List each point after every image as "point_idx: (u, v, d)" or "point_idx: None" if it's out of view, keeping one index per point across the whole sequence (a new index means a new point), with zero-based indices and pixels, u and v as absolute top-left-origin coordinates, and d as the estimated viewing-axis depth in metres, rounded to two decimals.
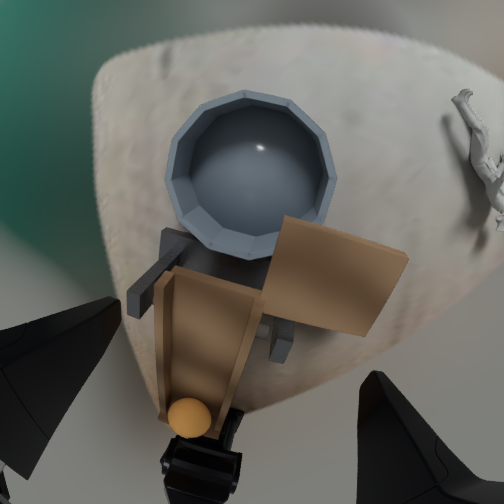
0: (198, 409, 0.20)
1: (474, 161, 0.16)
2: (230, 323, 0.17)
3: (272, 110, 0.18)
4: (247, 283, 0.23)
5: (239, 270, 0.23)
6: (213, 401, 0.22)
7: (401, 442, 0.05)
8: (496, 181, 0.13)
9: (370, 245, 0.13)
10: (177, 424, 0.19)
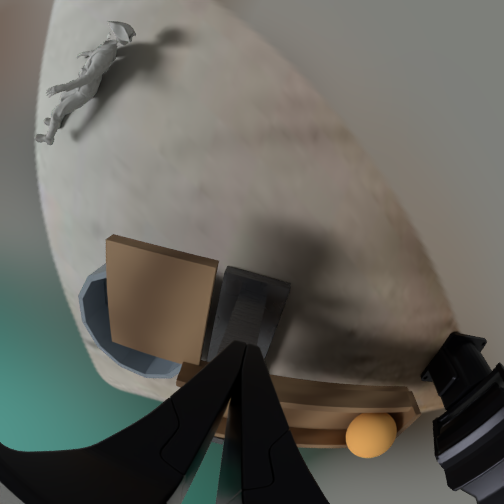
0: (354, 427, 0.15)
1: (86, 99, 0.16)
2: None
3: (104, 291, 0.24)
4: None
5: None
6: None
7: (237, 425, 0.05)
8: (69, 90, 0.13)
9: (107, 279, 0.14)
10: (358, 454, 0.14)
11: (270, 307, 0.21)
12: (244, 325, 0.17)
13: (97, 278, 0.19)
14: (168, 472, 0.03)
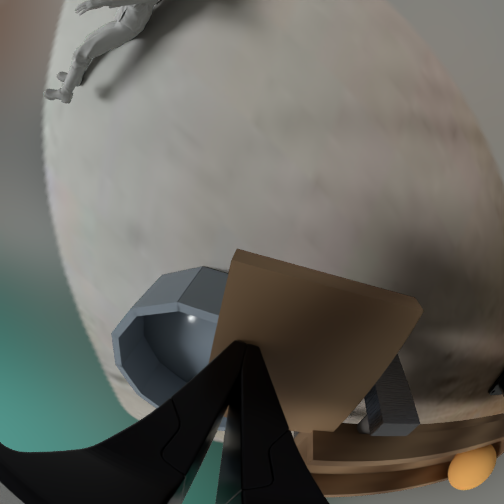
0: (463, 462, 0.09)
1: (129, 34, 0.10)
2: None
3: (144, 320, 0.18)
4: None
5: None
6: None
7: (237, 425, 0.05)
8: (114, 5, 0.07)
9: (216, 328, 0.08)
10: (461, 488, 0.08)
11: None
12: (389, 372, 0.11)
13: (148, 312, 0.13)
14: (168, 472, 0.03)
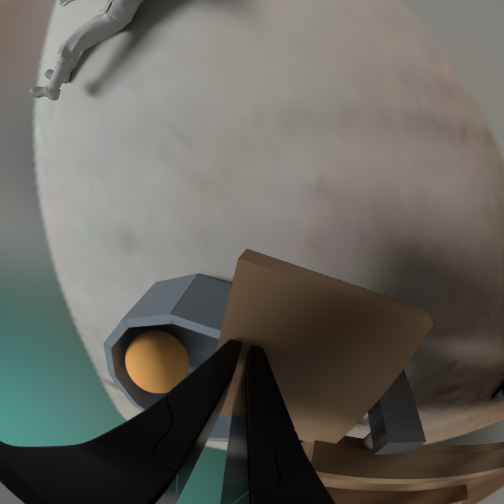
0: (128, 362, 0.13)
1: (116, 25, 0.09)
2: None
3: (138, 328, 0.17)
4: None
5: None
6: None
7: (243, 426, 0.05)
8: None
9: (223, 326, 0.08)
10: (156, 392, 0.14)
11: None
12: (394, 387, 0.10)
13: (140, 324, 0.12)
14: (161, 469, 0.03)
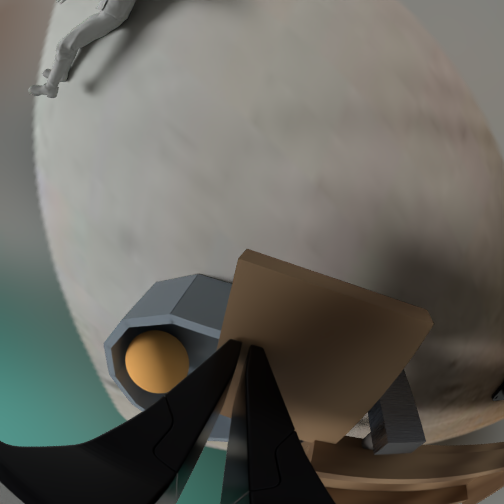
0: (126, 356, 0.14)
1: (113, 22, 0.09)
2: None
3: (138, 328, 0.17)
4: None
5: None
6: None
7: (243, 426, 0.05)
8: None
9: (223, 326, 0.08)
10: (149, 390, 0.14)
11: None
12: (394, 387, 0.10)
13: (140, 324, 0.12)
14: (161, 469, 0.03)
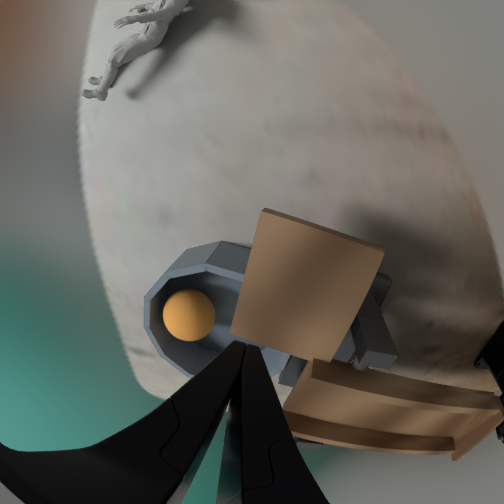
0: (166, 311, 0.19)
1: (152, 44, 0.14)
2: None
3: (168, 290, 0.22)
4: None
5: None
6: None
7: (237, 425, 0.05)
8: (145, 21, 0.10)
9: (249, 258, 0.13)
10: (186, 338, 0.19)
11: None
12: (371, 319, 0.15)
13: (180, 274, 0.17)
14: (168, 472, 0.03)
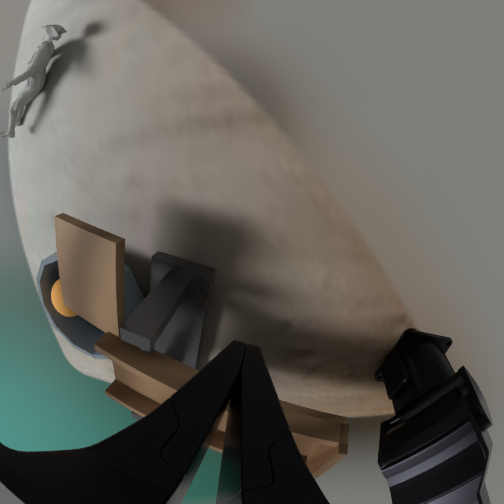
0: (51, 293, 0.20)
1: (34, 91, 0.15)
2: None
3: None
4: (175, 314, 0.22)
5: None
6: None
7: (237, 425, 0.05)
8: (16, 83, 0.12)
9: (58, 249, 0.15)
10: (65, 313, 0.21)
11: (196, 293, 0.21)
12: (156, 305, 0.17)
13: (48, 262, 0.19)
14: (167, 472, 0.03)
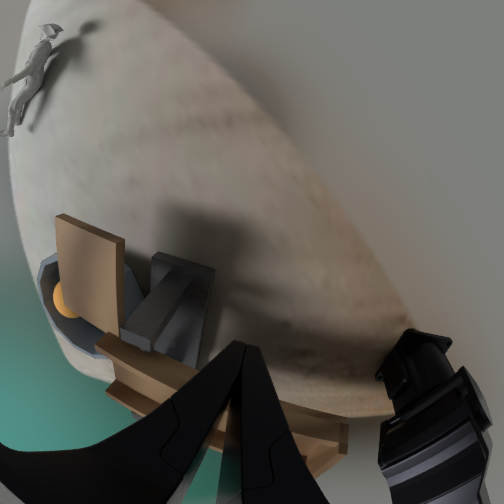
0: (54, 296, 0.20)
1: (33, 90, 0.15)
2: None
3: None
4: (175, 314, 0.22)
5: None
6: None
7: (237, 425, 0.05)
8: (15, 81, 0.12)
9: (58, 249, 0.15)
10: (70, 315, 0.21)
11: (196, 293, 0.21)
12: (156, 305, 0.17)
13: (48, 262, 0.19)
14: (168, 472, 0.03)
